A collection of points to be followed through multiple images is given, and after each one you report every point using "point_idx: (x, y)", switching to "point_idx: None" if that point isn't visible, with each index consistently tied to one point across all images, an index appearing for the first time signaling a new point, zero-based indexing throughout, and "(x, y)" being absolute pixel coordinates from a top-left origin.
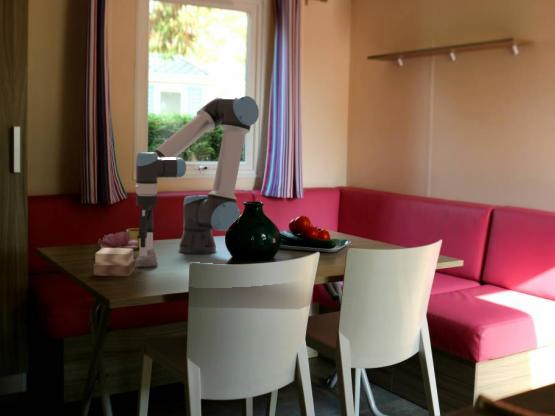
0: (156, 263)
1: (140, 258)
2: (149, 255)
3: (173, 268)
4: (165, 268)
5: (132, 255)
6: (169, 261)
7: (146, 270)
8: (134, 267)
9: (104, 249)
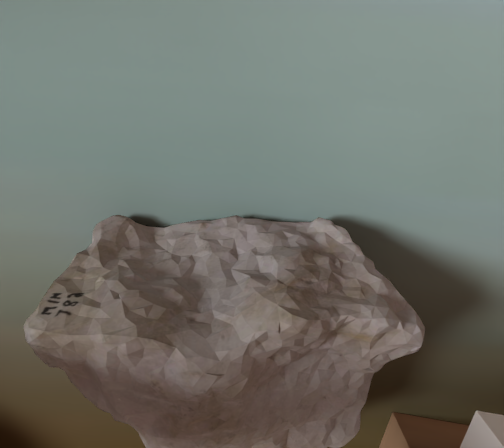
0: (344, 240)
1: (339, 435)
2: (305, 359)
3: (444, 43)
4: (424, 138)
5: None
6: (12, 55)
7: (478, 325)
8: (428, 432)
9: None
